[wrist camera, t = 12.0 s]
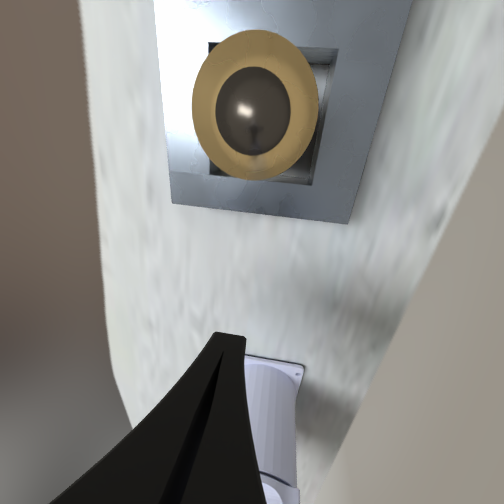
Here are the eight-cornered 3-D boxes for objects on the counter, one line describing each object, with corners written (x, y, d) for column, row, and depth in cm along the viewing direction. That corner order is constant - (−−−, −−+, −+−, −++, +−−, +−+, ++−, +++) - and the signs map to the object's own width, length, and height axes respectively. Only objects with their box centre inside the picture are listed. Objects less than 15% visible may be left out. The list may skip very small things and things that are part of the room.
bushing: (298, 164, 15) (305, 186, 9) (232, 158, 15) (193, 174, 9) (312, 81, 13) (333, 30, 7) (235, 77, 13) (186, 25, 7)
